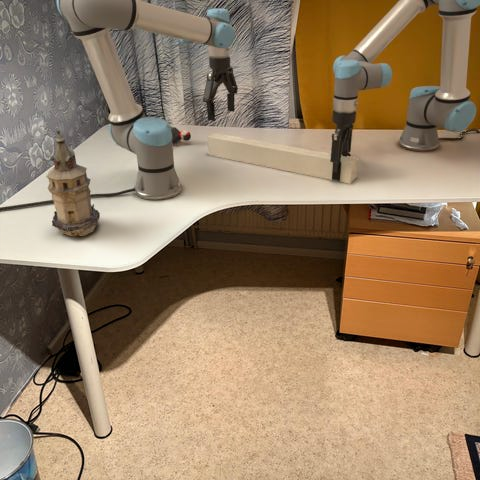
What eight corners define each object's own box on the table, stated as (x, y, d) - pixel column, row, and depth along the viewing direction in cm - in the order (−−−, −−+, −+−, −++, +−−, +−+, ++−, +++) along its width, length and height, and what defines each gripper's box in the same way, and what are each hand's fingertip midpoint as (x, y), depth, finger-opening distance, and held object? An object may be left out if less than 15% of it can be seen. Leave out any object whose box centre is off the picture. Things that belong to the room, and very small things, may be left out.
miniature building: (80, 214, 164) (63, 117, 149) (111, 225, 157) (96, 125, 142) (44, 231, 154) (22, 130, 140) (75, 244, 147) (55, 139, 133)
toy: (131, 118, 232) (198, 118, 226) (134, 133, 235) (199, 133, 229) (107, 138, 210) (180, 138, 204) (110, 153, 213) (182, 154, 207)
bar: (208, 154, 207) (207, 136, 204) (215, 150, 211) (214, 132, 208) (349, 183, 181) (351, 163, 178) (355, 178, 185) (357, 158, 182)
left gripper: (208, 63, 178) (211, 126, 188) (246, 51, 197) (247, 108, 207) (190, 61, 181) (193, 123, 192) (229, 49, 200) (230, 106, 210)
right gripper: (345, 119, 165) (339, 188, 177) (365, 105, 179) (358, 170, 190) (322, 116, 169) (318, 184, 180) (343, 102, 182) (338, 166, 194)
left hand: (221, 115), depth 199 cm, fingers open, 13 cm apart
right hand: (339, 176), depth 185 cm, fingers closed on bar, 5 cm apart
